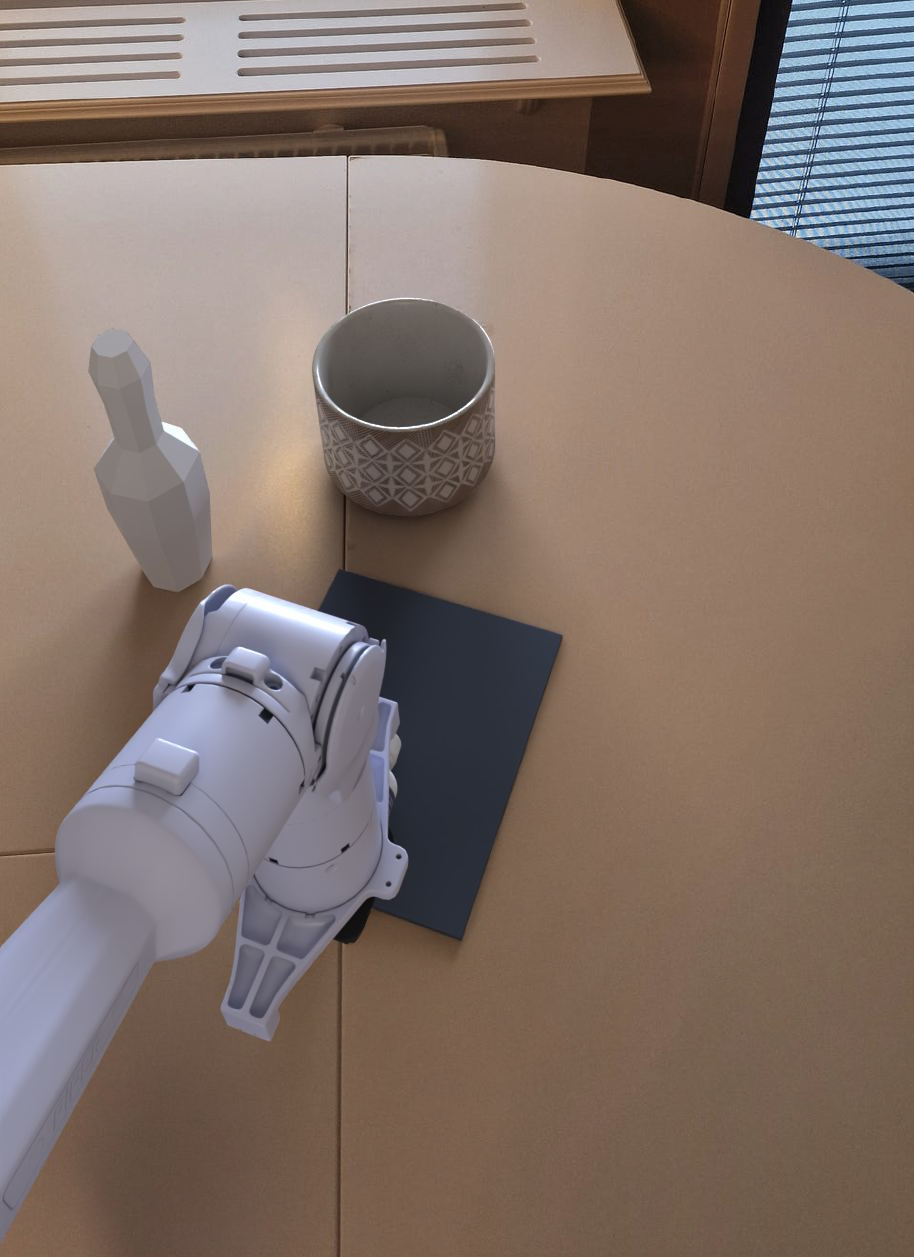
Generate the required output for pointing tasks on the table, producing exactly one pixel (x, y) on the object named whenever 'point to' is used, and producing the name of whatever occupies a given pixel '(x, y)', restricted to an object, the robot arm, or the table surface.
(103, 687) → the table surface
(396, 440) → the planter
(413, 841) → the mat
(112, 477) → the faceted bottle
